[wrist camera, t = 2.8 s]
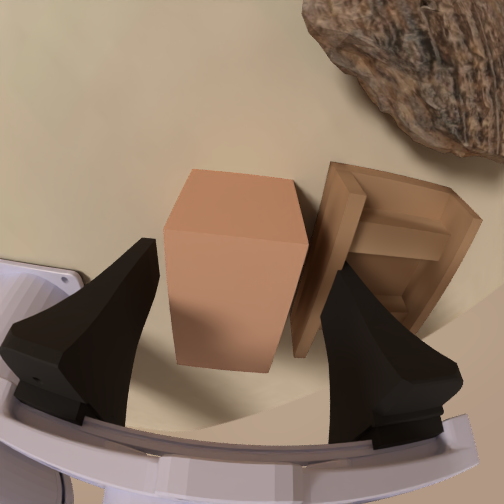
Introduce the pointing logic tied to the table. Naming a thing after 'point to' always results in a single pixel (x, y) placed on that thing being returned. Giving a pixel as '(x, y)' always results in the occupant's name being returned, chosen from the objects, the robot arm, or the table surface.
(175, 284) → the clay bar
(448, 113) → the rough brown rock
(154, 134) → the table surface
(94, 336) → the robot arm
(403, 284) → the rack
